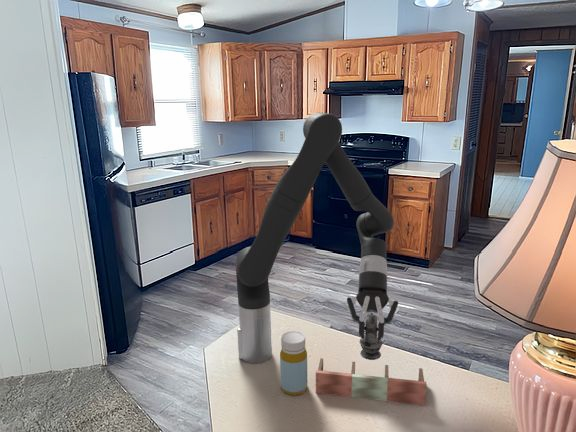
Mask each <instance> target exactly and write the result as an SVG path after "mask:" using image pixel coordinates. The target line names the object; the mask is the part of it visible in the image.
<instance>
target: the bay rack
mask: <svg viewBox="0 0 576 432" xmlns="http://www.w3.org/2000/svg"><path fill="white" fill-rule="evenodd" d="M350 371H351V372H350V373H347V372H339V371H338V372H337V371H331V370H330V371H328V370H324V358H322V357H321V358H319V363H318V368H317V369H316V370H315V394H325V395H331V396H341V397H350V398H358V399H366V400H367V399H368V400H377V401H382V402H383V401H386V402H393V403H400V404H401V403H402V404H409V405H418V406H426V398H427V397H426V396H427V381H425V377H424V373H423V372H424V371H423V368H421V367H420V368H418V378H417V379H418V380H415V379H413V380H412V379H403V378H395V377H390V376H389V365H388V364H385V365H384V376H374V375H366V374H365V375H364V374H356V361H351V370H350Z"/></svg>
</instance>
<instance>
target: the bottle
mask: <svg viewBox="0 0 576 432" xmlns="http://www.w3.org/2000/svg"><path fill="white" fill-rule="evenodd" d="M280 341H281V342H280V343H281V350H280V352H279V366H280V367H279V368H280V370H279V372H280V389H281V390H282V391H283V392H284V394H287V395H290V396H299V395H301V394H303V393H305V391H306V390H307V389H308V351H307V349H306V335H305V334H304V333H303V332H301V331H299V330H289V331H287V332H284V333H283V334H282V335H281V337H280Z"/></svg>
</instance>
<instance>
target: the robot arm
mask: <svg viewBox="0 0 576 432" xmlns="http://www.w3.org/2000/svg"><path fill="white" fill-rule="evenodd" d="M302 132H303V136H304V141H303V144H302V146H301V148H300V150H299V153H298V155H297V156H296V158H295V160H294V161H293V163H292V164H291V165H290V166H289V167H288V168H287V169H286V171H285V172H284V173H283V175H281V177H279V178H280V179H279V180H278V181H277V183H276V184H275V186H274V189H273V190H272V193H271V195H270V196H269V198H268V200H267V202H266V205H265V208H264V211H263V215H262V218H261V222H260V225H259V229H258V232H257V234H256V237H255V238H254V241H253V242H252V244H251V246H247V247H245V248H242V249H241V250H240V251H239V252H238V254H237V256H236V259H235V275H236V276H235V277H236V292H237V303H238V304H237V305H238V319H239V320H238V321H239V323H238V324H239V327H238V328H237V350H238V359H240V360H243V361H244V362H247V363H249V364H261V363H264V362H267V361H268V360H269V359H271V357H272V355H273V352H272V351H273V349H272V348H273V347H272V320H271V319H272V317H271V315H272V314H271V293H270V292H271V291H270V286H269V285H270V284H269V276H270V274H271V271H272V270H273V266H274V264H275V261H276V259H277V257H278V254H279V251H280V249H281V247H282V245H283V243H284V241H285V240H286V238H287V236H288V234H289V233H290V231H291V229H292V227H293V226H294V223H295V222H296V220H297V218H298V216H299V215H300V214H301V211H302V209H303V207H304V206H305V203H306V202H307V199H308V197H309V195H310V192H311V191H312V189H313V187H314V185H315V183H316V181H317V178H318V177H319V174H320V172H321V171H322V169H323V166H324V165H325V164H326V166H327V167H328V169H329V171H330V172H331V175H332V176H333V177H334V179H335V181H336V183H337V185H338V186H339V188H340V190H341V192H342V193H343V195H344V196H345V197H344V198H346V201H347V202H348V204H349V205H350V207H351V208H352V209H353V210H354V211H356V212H364V213H362V214H360V215H359V216H358V217H357V219H356V229H357V232H358V237H359V241H360V242H359V243H360V246H361V247H360V249H361V251H360V262H359V263H360V264H359V270H358V290H357V294H356V295H355V296H354V297H350V296H349V297H347V298H346V302H347V303H346V304H347V307H348V309H349V311H350V316H351V319H352V321H353V322H357V324H358V335H359V337H361V338H362V339H364V337H365V329H364V328H365V326H366V317H367V313H375V314H376V315H377V316H376V317H377V321H378V323H377V328H378V331H377V338H378V340H382V339H383V338H384V337H385V335H384V334H385V333H384V332H385V331H384V330H385V325H390V324H392V321H393V319H394V316H395V313H396V311H397V310H398V307H399V301H398V300H394V299H393V300H392V299H390V298H389V295H388V264H387V243H386V241H385V240H384V239H381V238H379V237H374V236H377V235H381V234H384V233H385V234H386V233H388V232H390V231H392V230H393V227H394V223H395V222H394V217H393V215H392V213H391V212H390V211H389V209H388V208H387V207H386V206H385V205H384V204H383V203H382V202H381V201H380V200H379V199H378V198H377V197H376V196H375V195H374V194H373V192H372V191H371V188H370V187H369V185H368V183H367V181H366V180H365V179H364V176H363V175H362V173H361V172H360V171H359V170H358V169H357V167H356V166H355V164H354V163H353V162H352V160H351V159H350V158H349V157H348V155H347V154H346V151H345V150H344V149H343V146H342V144H341V143H340V140H341V139H342V134H343V126H342V123H341V120H340V119H339V118H338V117H337V116H336V115H334V114H333V113H329V112H328V113H327V112H315V113H312V114H310V115H308V117H307V118H306V119H305V120H304V122H303V126H302ZM356 303H358V305H360V306H359V307H361V311H360V315H357V311H356V309H355V307H356ZM387 304H388V308H389V309H390V310H389V311H388V314H387V317H384V312H383V309H384V308H385V307H386V306H387ZM361 338H360V339H361Z"/></svg>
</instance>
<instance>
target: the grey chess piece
mask: <svg viewBox="0 0 576 432" xmlns="http://www.w3.org/2000/svg"><path fill="white" fill-rule="evenodd" d="M373 313H374V312H370V314H369V315H366V317H365V328H364V329H365V330H364V339H362V338H360V339H359V344H360V347H361V351H360V353H359V354H360V356H361V357H362V358H363V359H366V360H369V361H374V360H375V361H376V360H378V359H380V358H381V356H382V353H381V352H380V350H381V348H382V346H383V341H382V339H381V340H378V316H376V315H374V314H373Z"/></svg>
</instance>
